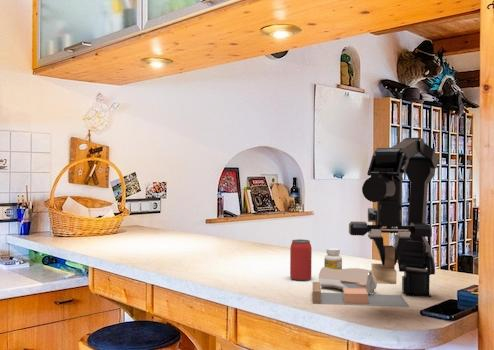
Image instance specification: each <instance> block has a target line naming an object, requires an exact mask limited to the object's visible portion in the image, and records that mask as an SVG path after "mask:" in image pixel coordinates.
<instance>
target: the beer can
mask: <svg viewBox="0 0 494 350" xmlns="http://www.w3.org/2000/svg"><path fill="white" fill-rule="evenodd" d="M289 249H290V251H289V253H290V254H289V255H290V256H289V257H290V259H289V260H290V261H289V262H290V263H289V269H290V270H289V272H290V273H289V275H290V276H289V277H290V278H291V280H294V281H298V282H299V281H301V282H303V281H310V280H311V279H312V258H313V257H312V245H311V241H310V240H309V239H303V238H302V239H300V238H299V239H293V240H291V244H290V248H289Z"/></svg>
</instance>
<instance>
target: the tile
mask: <svg viewBox="0 0 494 350" xmlns="http://www.w3.org/2000/svg"><path fill="white" fill-rule="evenodd" d="M342 293H343V300H344V303H355V304H368V292H367V290H366V289H359V288H343V290H342Z"/></svg>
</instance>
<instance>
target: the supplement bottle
mask: <svg viewBox="0 0 494 350" xmlns="http://www.w3.org/2000/svg"><path fill="white" fill-rule="evenodd" d="M340 252H341V251H340V248H336V247H335V248H332V247H330V248H328V247H327V248H326V255H325V256H324V262H323V263H324V264H323V265H324V266H323V267H328V268H331V269H343V257H342V256H341V255H340Z"/></svg>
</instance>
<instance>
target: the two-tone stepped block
mask: <svg viewBox="0 0 494 350" xmlns="http://www.w3.org/2000/svg"><path fill="white" fill-rule="evenodd" d="M384 255H385V263H384V265H382V263H371V271H372V275H371V276H372V277H373V279H374V281H375V282H376V284H377V285H378V284H382V285H396V284H397V270H396V269H395V266H396V265H395V247H394V245H384Z"/></svg>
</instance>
